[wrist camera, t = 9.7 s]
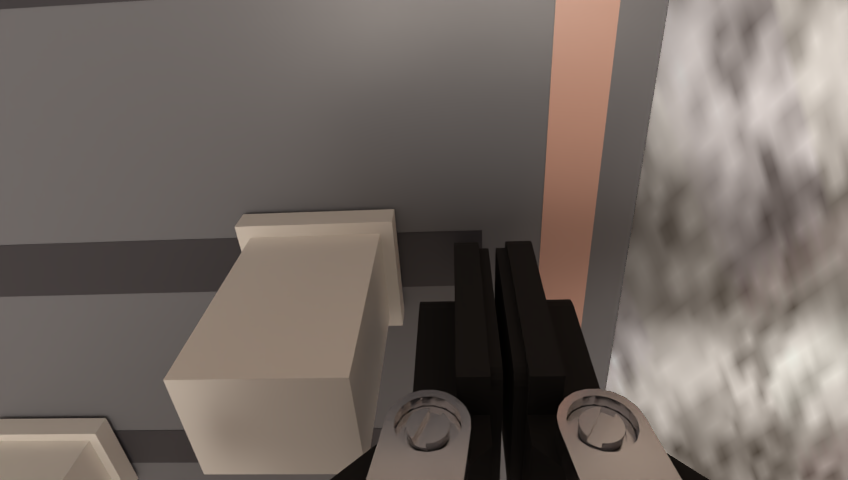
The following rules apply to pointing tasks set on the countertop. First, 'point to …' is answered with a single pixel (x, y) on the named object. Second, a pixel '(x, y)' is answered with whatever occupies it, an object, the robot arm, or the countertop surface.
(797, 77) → the countertop surface
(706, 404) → the countertop surface
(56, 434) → the block
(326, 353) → the block
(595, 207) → the board
